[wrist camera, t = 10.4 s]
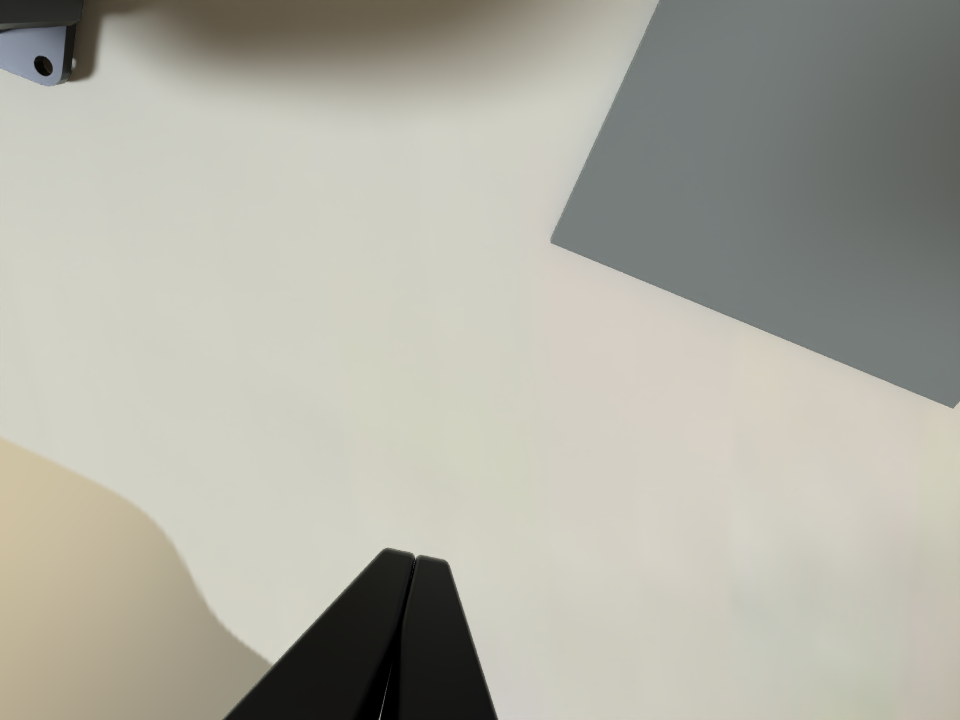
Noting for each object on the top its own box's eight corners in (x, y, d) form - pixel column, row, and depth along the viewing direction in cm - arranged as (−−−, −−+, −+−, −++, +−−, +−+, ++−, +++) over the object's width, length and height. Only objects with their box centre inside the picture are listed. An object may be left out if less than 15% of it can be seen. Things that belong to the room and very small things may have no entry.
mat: (550, 238, 20) (550, 242, 20) (786, -277, 15) (792, -284, 14) (946, 401, 21) (953, 408, 21) (1300, -19, 16) (1317, -20, 15)
